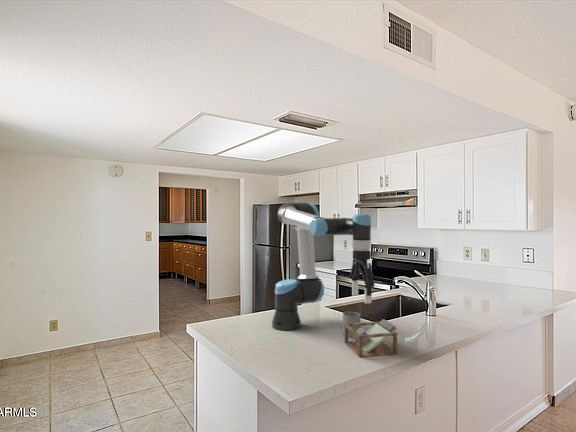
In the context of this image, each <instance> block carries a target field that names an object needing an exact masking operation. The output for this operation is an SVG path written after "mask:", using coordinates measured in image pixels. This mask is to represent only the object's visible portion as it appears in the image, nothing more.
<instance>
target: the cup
mask: <svg viewBox="0 0 576 432" xmlns="http://www.w3.org/2000/svg"><path fill="white" fill-rule="evenodd" d="M351 323H362V321H361V313H360V312H357V311H344V312H343V313H342V335H343V337H345V324H351ZM360 327H361V328H362V326H352V328H353V329H354V330H355V331H356V330H357V329H359V328H360ZM348 338H351V339H354V338H353V336H352V332H351V331H350V330H349V329H348Z"/></svg>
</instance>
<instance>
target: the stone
mask: <svg viewBox="0 0 576 432" xmlns="http://www.w3.org/2000/svg"><path fill="white" fill-rule="evenodd" d="M356 331H357V332H358V333H359V334H360V335H366V334H367V333H366V331H367V330H365V329H363V328H362V326H361V327H360V328H359V329H357V330H356ZM352 336H353V338H352V339H354V340H355V341H356V342H357V344H358V337H357V336H356V335H354V334H353V333H352ZM370 341H371V339H370V338H362V347H363V346H364V345H366V344H367V343H368V342H370Z"/></svg>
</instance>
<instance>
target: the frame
mask: <svg viewBox="0 0 576 432" xmlns="http://www.w3.org/2000/svg"><path fill="white" fill-rule="evenodd" d="M379 322H380V321H368V322H366V321H365V322H361V323H351V324H345V336H344V344H345V345H346V346H347V347H348V348H349V349H350V350H352V351H353V353H354V354H355V355H356V356H358V357H359V358H366V357H367V358H368V357H375V356H376V357H377V356H387V355H388V356H389V355H397V354H398V333H397V332H396V331H393V332H392V333H379V334H366V335H360V334H359V333H358V332H357V331H355V330H354V329H353V328H352V326H361V327H363V326H373V325H375V324H376V323H377V324H378V325H379ZM348 329H349V330H350V331H351V332H352V333H353V334H354V335H356V336H357V337H358V345H357V344H356V343H355V342H354V340H349V337H348ZM386 336H389V337H392V347H391V346H389V345H388V344H387V343H385V342H384V340H383V341H382V342H381V343H380V344H378V345H377V346H376V347H374V348H373V349H372V350H370V351H369V352H368V353H366V352H365V351H364V350H363V349H362V338H373V337H386Z"/></svg>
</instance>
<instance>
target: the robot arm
mask: <svg viewBox="0 0 576 432" xmlns="http://www.w3.org/2000/svg"><path fill="white" fill-rule="evenodd" d="M277 218H278V220H279V222H281V223H283V224H284V225H288V226H289V225H290V226H291V225H292V226H294V230H296V232H297V235H296V236H297V249H298V262H299V263H298V266H299V267H298V268H299V274H298V275H299V276H297V278H296V279H297V280H296V279H293V278H292V279H291V278H290V279H283V280H280V281H278V282H277V283H275V288H274V298H275V299H274V304H275V305H274V306H275V308H274V314H273V317H272V321H271V327H272V329H275V330H279V331H294V330H298V329H300V328H301V327H302V321H301V317H300V315H299V312H298V311H299V310H298V309H299V308H298V305H303V304H310V303H311V304H313V303H316V302H317V303H318V302H319V301H321V300H322V298H323V296H324V294H325V286H324V283H323V280H320V278H319V277H320V276H318V275H317V272H316V259H315V258H316V256H315V242H314V237H315V236H317V237H323V236H344V235H345V236H346V235H347V236H352V249H353V250H352V265H351V269H350V275H349V278H350V279H351V296H353V297H354V296H355V297H356V296H359V280H360V279H359V277H360V274H361V275H362V279H363V281H364V282H363V283H364V286H363V287H364V304H372V300H373V299H372V296H373V295H372V289H373V288H375V282H374V277H373V271H372V263H371V262H368V261H369V260H371V258H372V257H371V253H372V252H371V244H372V241H371V240H372V239H371V238H372V237H371V235H372V234H371V230H372V228H371V227H372V222H371V221H372V220H371V219H372V217H371V215H370V214H368V213H355V214H353V215H352V218H351V217H349V218H348V217H340V218H339V217H336V218H334V217H330V218H328V217H322V216H320V212H319V210H318V207H317V206H316V205H315V204H314V203H311V202H286V203H283V204H282V205H281V206H280V207H279V208H278V210H277Z"/></svg>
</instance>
